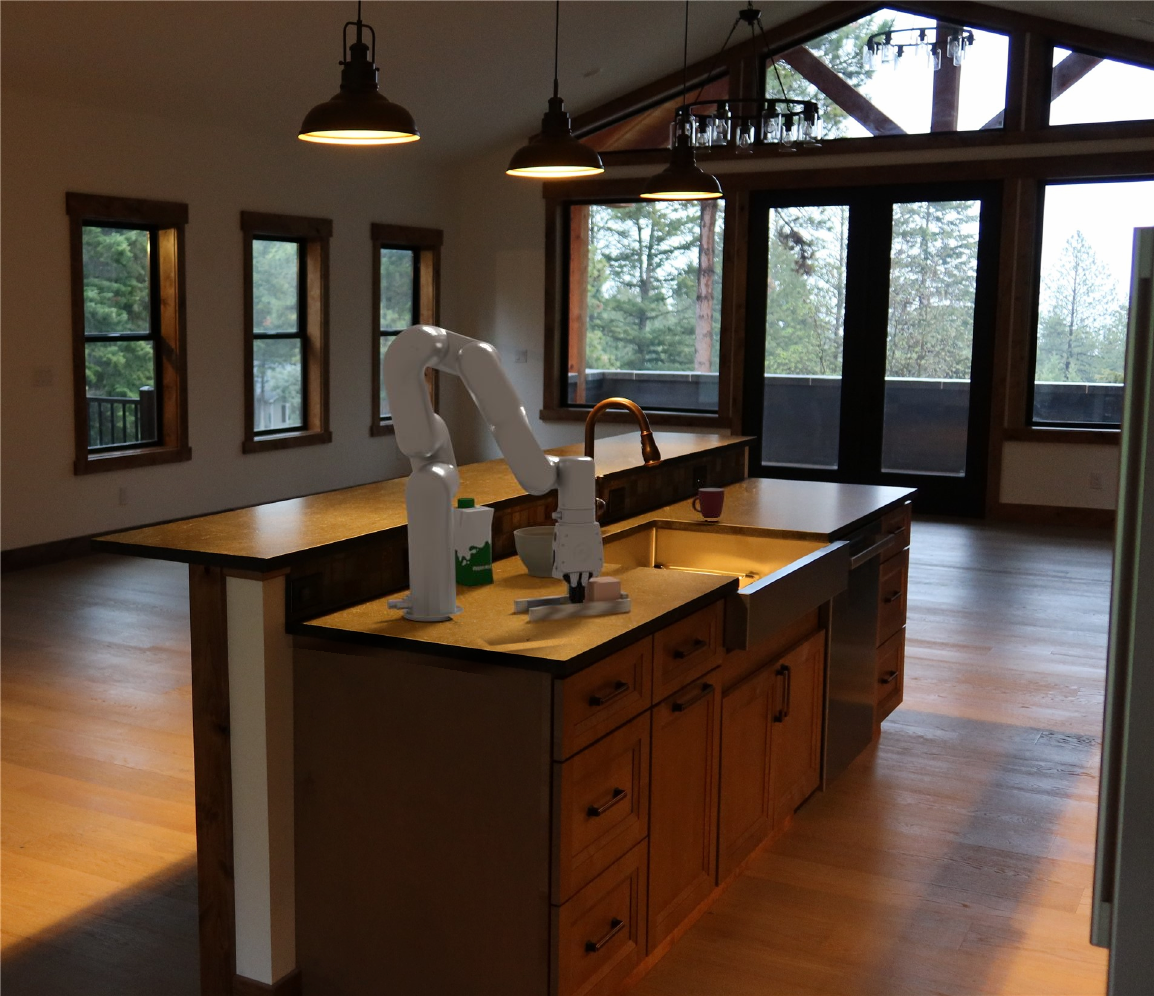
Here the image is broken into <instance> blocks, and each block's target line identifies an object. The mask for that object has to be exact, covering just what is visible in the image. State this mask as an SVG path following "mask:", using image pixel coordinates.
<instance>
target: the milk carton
mask: <svg viewBox="0 0 1154 996" xmlns="http://www.w3.org/2000/svg"><path fill="white" fill-rule="evenodd" d="M475 504H476V502H475V498H474V497H461V498H460V497H459V498H457V506H455V507H453V517H454V537H455V575H456V585H459V586H462V587H467V588H475V587H480V586H488V585H492V584H494V583H495V581H494V572H493V571H494V570H493V562H492V558H493V557H492V523H493V517H494V512H495V508H491V507H488V506H482V505H475Z"/></svg>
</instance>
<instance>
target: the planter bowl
mask: <svg viewBox="0 0 1154 996" xmlns="http://www.w3.org/2000/svg"><path fill="white" fill-rule="evenodd" d="M554 529H555V526H554V525H553V526H552V525H551V526H550V525H549V526H547V525H546V526H533V527H524V528H520V529H516V530H515V531H513V535H514V541H515V548H516V552H517V554H518V557H519V559H520V561H521V563H522V564H523V566H524V567H525V568H526V570H527V574H528V576H532V577H536V578H554V577H553V576H552V571H553V567H552V543H553V535H554Z"/></svg>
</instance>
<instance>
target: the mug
mask: <svg viewBox="0 0 1154 996" xmlns="http://www.w3.org/2000/svg"><path fill="white" fill-rule="evenodd" d="M697 501H698V502H699V509H698V508H697V505H696V503H697ZM724 501H725V489H724V488H718V487H705V488H698V496H696V497H694V498H693V499H692V502H691V507H692V509H693V511H695V512H697V513H700V514H701V516H702V517H704V518H718V517H719V518H720V517H721V515H722V513H723V508H724V503H725V502H724ZM704 518H703V519H704Z"/></svg>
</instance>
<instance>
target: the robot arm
mask: <svg viewBox="0 0 1154 996" xmlns="http://www.w3.org/2000/svg"><path fill="white" fill-rule="evenodd" d="M501 359H502V358H501V355H500V353H499V351H498V350H497V348H496V346H494V345H492V344H491V343H488V342H486V341H482V340H479V339H475V338H472V337H468V336H465V335H462V334H459V333H456V332H453V331H451V330H448V329H445V328H444V329H443V328H441V327H438V326H435V325H430V324H429V325H428V324H415V325H412V326H408V327H407V328H406V329H403V330H402V331H401V332H400V333H399V334H397V335H396V336H395V337H394V338H393V340H392V341H391V342H390V344H389V345H388V347H387V349H386V351H385V353H384V355H383V360H382V361H383V362H382V378H383V384H384V390H385V392H386V394H385V395H386V396H387V397H386V398H387V401H388V406H389V407H388V408H389V411H390V416H391V420H392V421H391V422H392V424H393V428H394V434H395V439H396V440H395V441H396V444H397V446H398V448H399V450H400V452H402V454H403V455H405V456H406V457H407V458H409V461H410V466H411V470H412V472H410V473H411V474H410V475H409V476H408V478H407V480H406V484H405V486H404V487H405V489H404V501H405V509H406V511H405V512H406V520H407V539H408V540H407V542H408V562H409V563H408V569H409V574H408V575H409V593H406V594H405V597H404V596H403V597H402V598H401V599H390V600H389V599H388V600H387V602H386V605H387V606H386V607H387V609H388V610H397V611H400V610H401V611H402V610H403V611H402V616H403V618H404V619H406V620H409V621H410V620H411V621H414V622H415V621H416V622H443V621H444V622H445V621H451V620H454V618H453V617H451V616H455V615H459V614H462V613H463V612H464V611H465V608H463V607H462V606H460V605H457V584H456V575H455V537H454V517H453V500H454V498H455V497H456V495H457V493H458V492H459V489H460V474H459V469H458V466H457V461H456V458H455V453H454V448H453V444H452V440H451V436H450V432H449V428H448V427H447V425H446V422H445V421H444V419H443V418H442V417H441V416H440V415H439V414H437V413H435V412H434V409H433V405H432V402H431V401H432V400H431V395H430V392H429V388H428V384H427V381H426V378H425V370H426V369H427V367H429V368H433V369H436V370H439V371H442V372H445V373H448V374H450V375H454V376H458V377H460V380H462V382H463V384H464V386H465V388H466V390H467V391H468V393H469V395H470V397H471V398H472V400H473V402H474V403H475V405H476V407H477V409H478V411H479V413H480V414H481V415H482V418H483V419H484V421H485V423H486V425H487V427H488V428H489V429H488V430H489V432H490V434H491V435H492V437H493V440H495V443H496V445H497V447H498V448H499V451H500V454H501V455H502V457H503V458H504V460H505V463H506V465H507V466H508V467H509V469H510V471H511V472H512V475H513V476H514V478H515V480H516V481H517V483H518V485H519V486H520V488H521V489H523V490H524V492H526V493H528V494H529V495H533V496H543V495H545V494H546V493H548V492H549V491H551V490H554V489H555V490H556V489H557V490H558V491H557V492H558V494H557V495H558V501H557V502H558V505H557V506H558V507H557V510H556V511H555V512H552V513H551V517H552V519H554V520H555V519H556V520H557V523H556V522H555V529H554V535H553V543H552V567H553V571H552V576H553V577H552V578H555V579H561V580H563V581H564V582H565V583H566V585H567V584H568V585H569V594H568V595H569V600H570V601H571V603H572V604H578V603H583V600H585V586H586V585H587V582H588V581H589V580H590V579H591V578H592V577H593V576H597V575H598V576H599V575H602V573H603V570H602V569H603V568H604V563H605V562H604V547H603V538H602V532H601V530H602V529H601V525H600V523H599V522H597V521H596V464H595V462H596V461H595V460H594V458H592V457H590V456H587V455H585V456H584V455H569V456H556V455H548V454H545V453H544V451H543V449H542V447H541V446H540V444H539V442H538V440H537V439H536V436H535V435H534V432H533V431H532V430H533V429H532V428H531V425H530V422H529V419H528V415H527V409H526V407H525V405H524V402H523V400H522V398H521V396H520V395H519V393H518V391H517V390H516V388H515V387H514V385H513V384H512V381H511V379H510V378H509V376H508V375H507V373H506V370H505V368H504V367H503V365H502V360H501ZM575 573H578V577H577V581H576V574H575Z"/></svg>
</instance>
